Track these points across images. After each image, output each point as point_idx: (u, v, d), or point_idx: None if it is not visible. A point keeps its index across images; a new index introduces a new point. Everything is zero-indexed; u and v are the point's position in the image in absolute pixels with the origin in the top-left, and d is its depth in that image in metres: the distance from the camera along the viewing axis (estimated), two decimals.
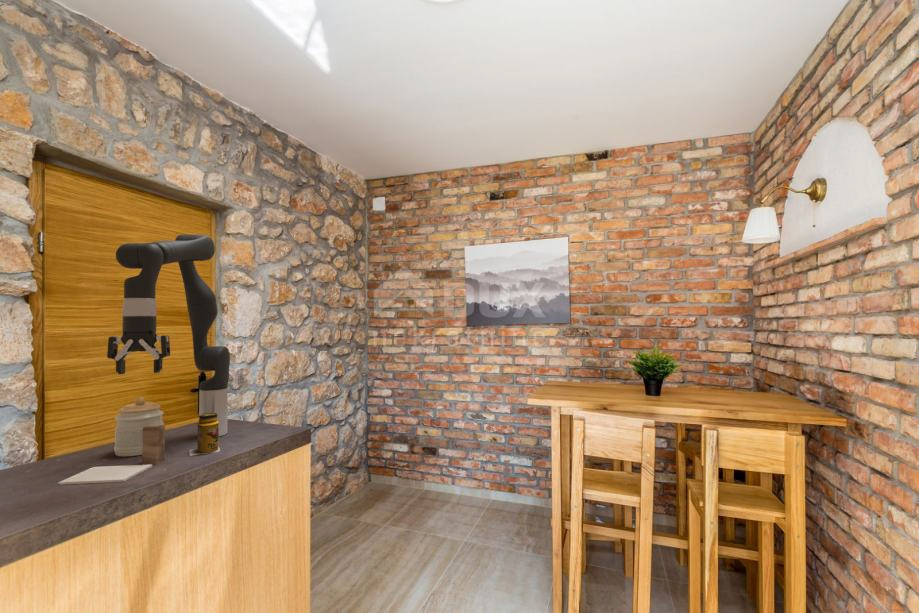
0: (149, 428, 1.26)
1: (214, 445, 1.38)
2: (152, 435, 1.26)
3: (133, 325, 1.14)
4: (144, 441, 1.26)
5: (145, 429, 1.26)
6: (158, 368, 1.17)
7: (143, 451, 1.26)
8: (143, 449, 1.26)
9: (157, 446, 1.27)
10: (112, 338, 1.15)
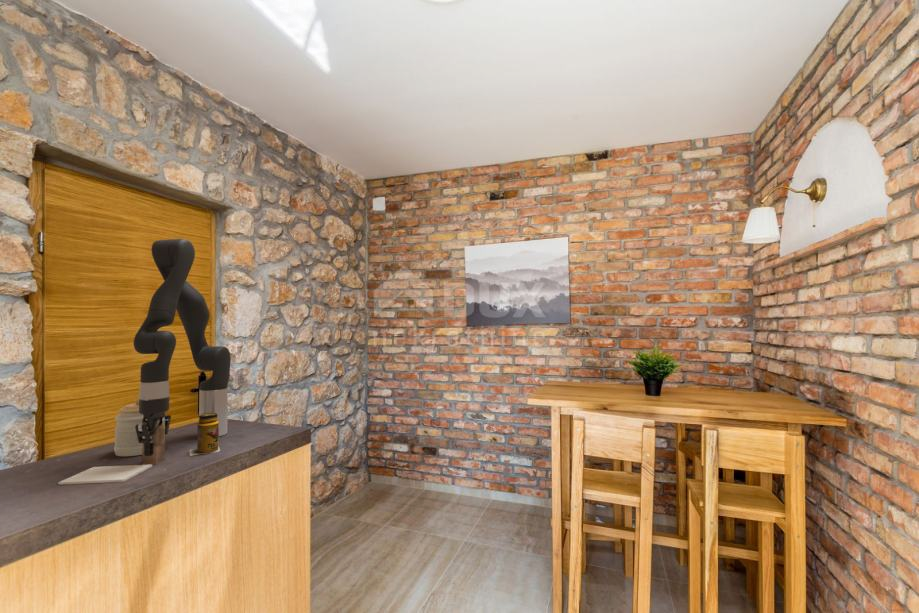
0: None
1: (214, 445, 1.38)
2: None
3: (167, 405, 1.29)
4: None
5: None
6: None
7: (143, 451, 1.26)
8: (143, 449, 1.26)
9: (157, 446, 1.27)
10: (146, 425, 1.23)
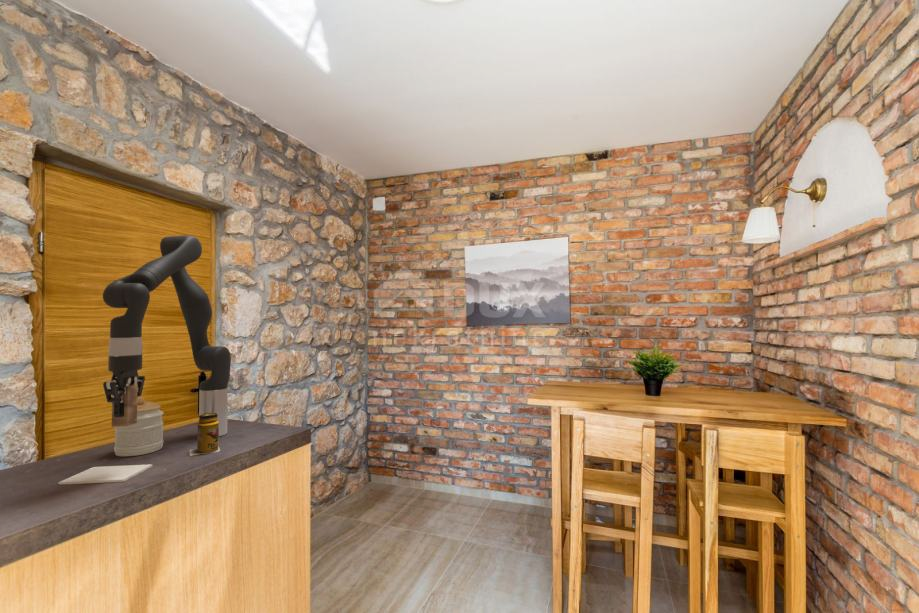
0: None
1: (214, 445, 1.38)
2: None
3: (140, 363, 1.20)
4: None
5: None
6: None
7: (113, 412, 1.16)
8: (113, 410, 1.16)
9: (128, 407, 1.17)
10: (115, 382, 1.13)
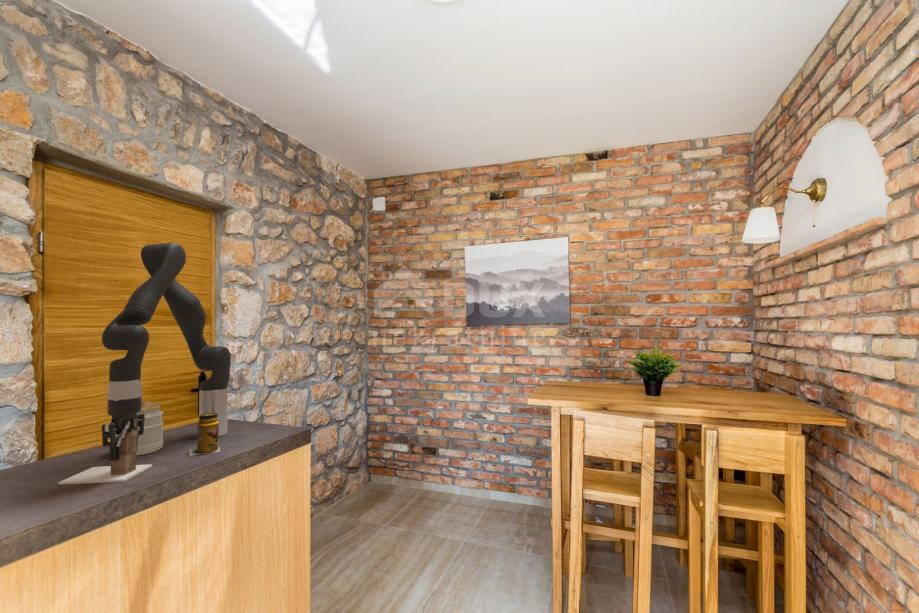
0: None
1: (214, 445, 1.38)
2: (121, 443, 1.16)
3: (139, 406, 1.19)
4: None
5: None
6: (136, 447, 1.22)
7: None
8: None
9: (127, 455, 1.17)
10: (113, 425, 1.13)
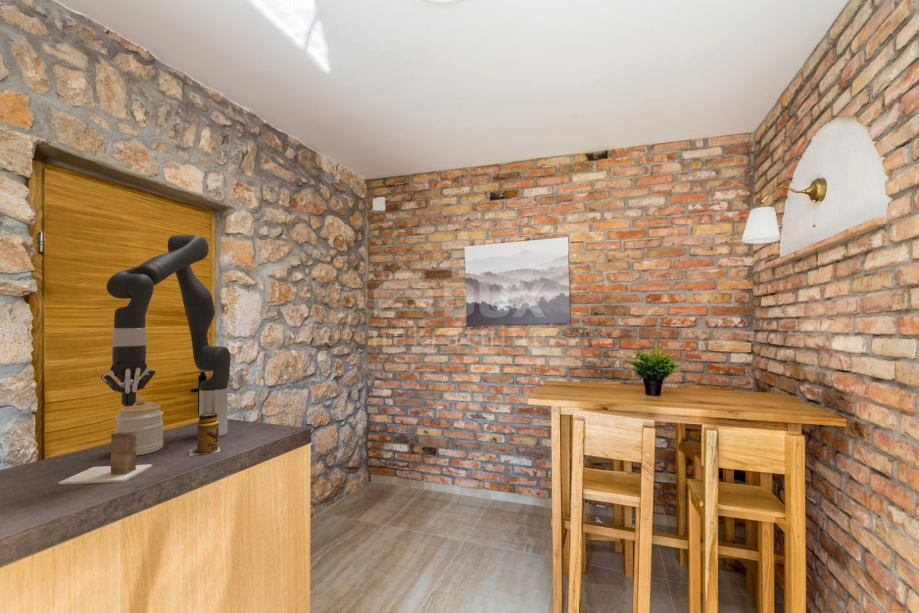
0: (118, 435, 1.16)
1: (214, 445, 1.38)
2: (121, 443, 1.16)
3: (137, 354, 1.18)
4: (113, 449, 1.16)
5: (114, 436, 1.16)
6: (134, 401, 1.20)
7: (112, 460, 1.16)
8: (112, 458, 1.16)
9: (127, 455, 1.17)
10: (108, 376, 1.14)
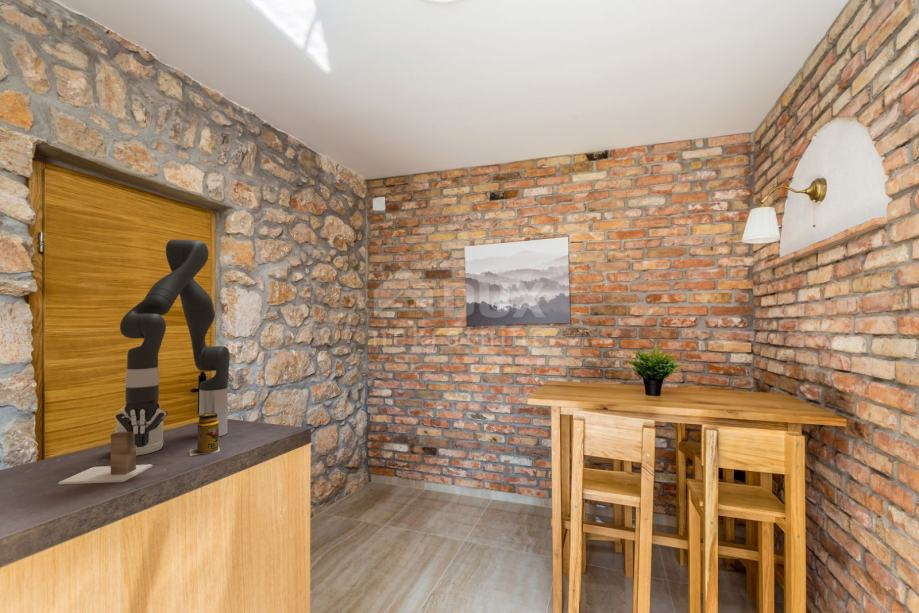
0: (118, 435, 1.16)
1: (214, 445, 1.38)
2: (121, 443, 1.16)
3: (134, 396, 1.15)
4: (112, 449, 1.16)
5: (113, 436, 1.16)
6: (144, 442, 1.18)
7: (111, 460, 1.16)
8: (111, 458, 1.16)
9: (127, 455, 1.17)
10: (118, 415, 1.17)
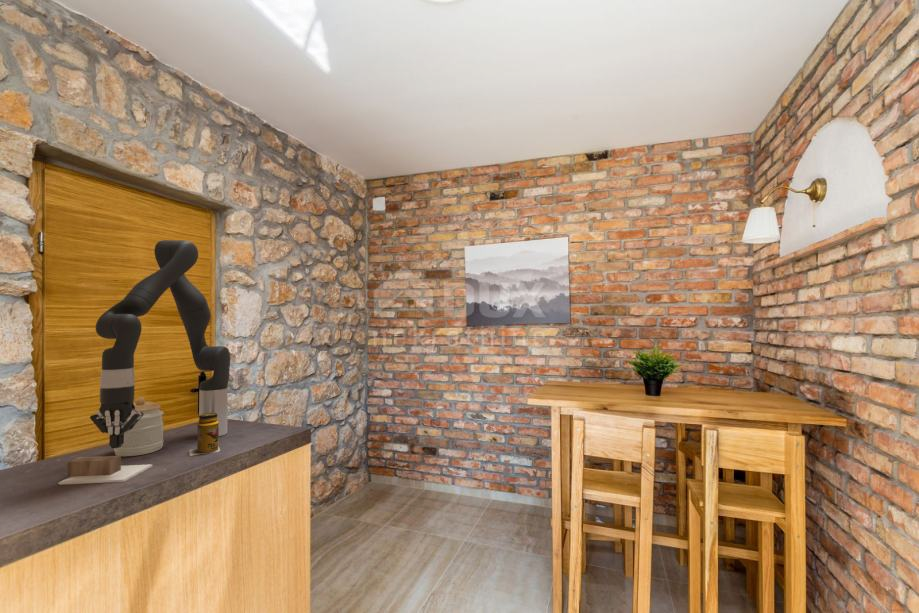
0: (68, 469, 1.15)
1: (214, 445, 1.38)
2: (77, 466, 1.15)
3: (108, 397, 1.15)
4: (83, 474, 1.15)
5: (69, 473, 1.15)
6: (118, 443, 1.17)
7: (95, 474, 1.15)
8: (92, 474, 1.15)
9: (92, 460, 1.16)
10: (92, 416, 1.16)
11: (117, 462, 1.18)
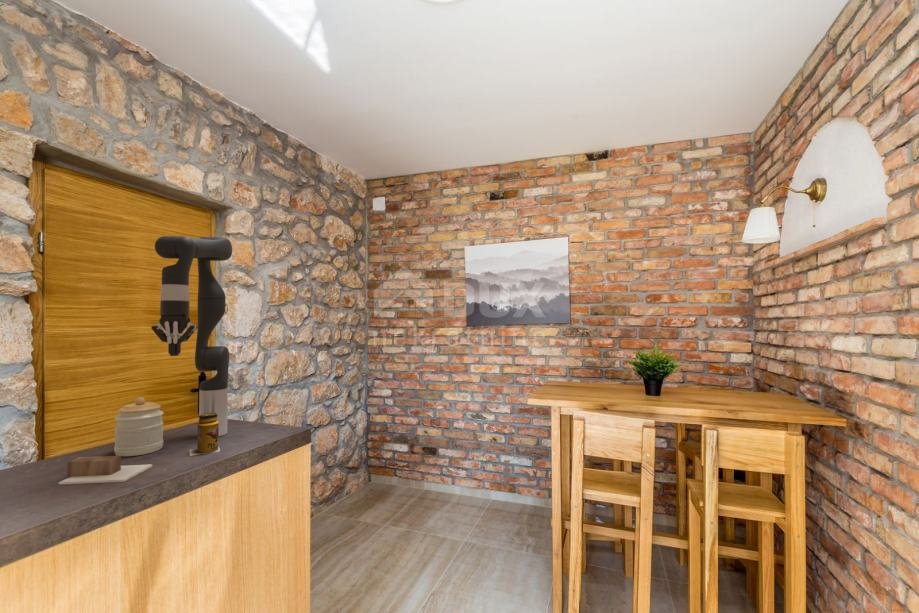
0: (68, 469, 1.15)
1: (214, 445, 1.38)
2: (77, 466, 1.15)
3: (168, 308, 1.28)
4: (83, 474, 1.15)
5: (69, 473, 1.15)
6: (176, 351, 1.30)
7: (95, 474, 1.15)
8: (92, 474, 1.15)
9: (92, 460, 1.16)
10: (153, 326, 1.29)
11: (117, 462, 1.18)
